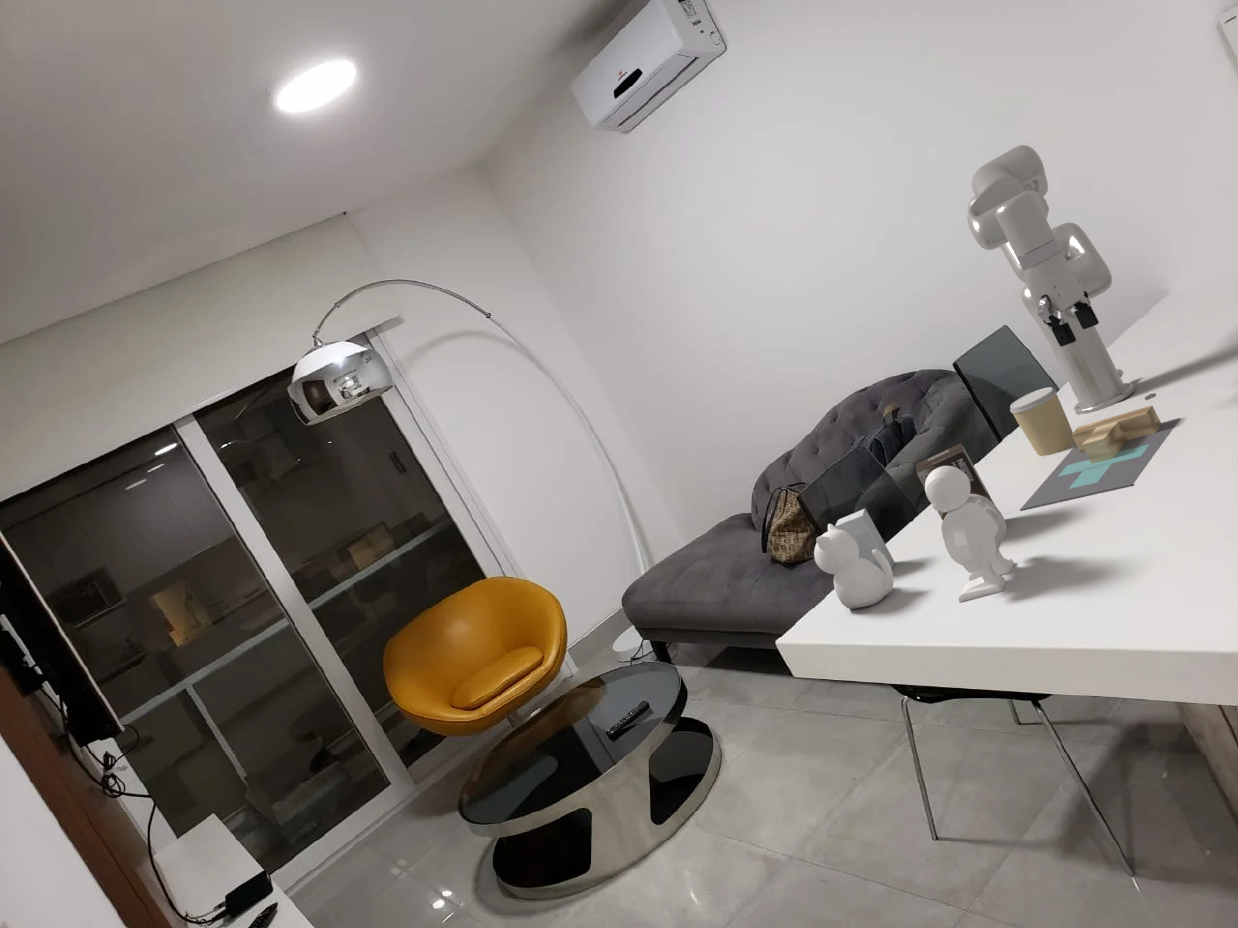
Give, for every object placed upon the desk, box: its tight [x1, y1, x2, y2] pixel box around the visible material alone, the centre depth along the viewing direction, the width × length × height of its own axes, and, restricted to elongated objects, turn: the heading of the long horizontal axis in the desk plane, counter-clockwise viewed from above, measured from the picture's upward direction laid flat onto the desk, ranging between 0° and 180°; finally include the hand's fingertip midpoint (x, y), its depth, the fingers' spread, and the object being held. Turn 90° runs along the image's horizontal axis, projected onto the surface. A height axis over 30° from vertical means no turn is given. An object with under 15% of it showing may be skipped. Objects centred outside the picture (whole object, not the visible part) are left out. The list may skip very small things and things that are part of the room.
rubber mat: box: [1019, 417, 1181, 512], centre depth 161 cm, size 28×20×1 cm
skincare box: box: [834, 508, 895, 573], centre depth 169 cm, size 6×4×12 cm
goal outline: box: [1058, 444, 1150, 489], centre depth 160 cm, size 13×15×1 cm
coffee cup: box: [1009, 386, 1075, 457], centre depth 183 cm, size 9×9×12 cm
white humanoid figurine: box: [924, 466, 1015, 603], centre depth 138 cm, size 14×9×20 cm, turn 142°
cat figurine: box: [813, 523, 895, 610], centre depth 157 cm, size 9×12×15 cm
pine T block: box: [1072, 405, 1162, 463], centre depth 165 cm, size 12×14×4 cm
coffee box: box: [915, 442, 996, 521], centre depth 160 cm, size 9×6×16 cm
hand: (1080, 335), depth 172 cm, fingers open, 9 cm apart
